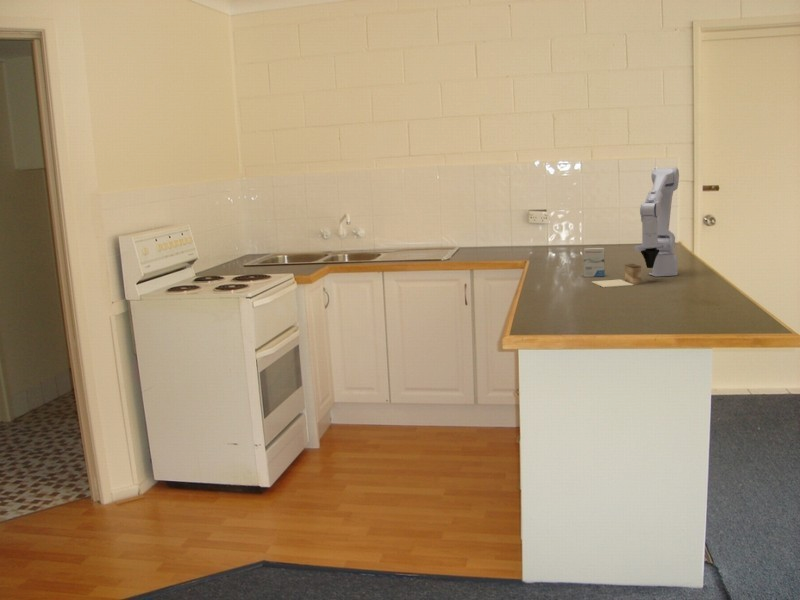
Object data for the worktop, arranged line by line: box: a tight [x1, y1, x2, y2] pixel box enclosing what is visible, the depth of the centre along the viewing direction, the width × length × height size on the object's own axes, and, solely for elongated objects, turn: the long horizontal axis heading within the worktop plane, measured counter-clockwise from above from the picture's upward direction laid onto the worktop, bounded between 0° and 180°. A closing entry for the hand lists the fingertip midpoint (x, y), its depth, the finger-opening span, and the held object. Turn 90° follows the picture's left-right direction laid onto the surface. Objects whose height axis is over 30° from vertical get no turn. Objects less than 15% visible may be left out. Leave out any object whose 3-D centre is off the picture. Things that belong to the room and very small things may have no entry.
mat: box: [590, 278, 634, 289], centre depth 302 cm, size 12×14×1 cm
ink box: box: [583, 247, 606, 278], centre depth 324 cm, size 8×5×12 cm, turn 74°
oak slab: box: [624, 263, 642, 285], centre depth 302 cm, size 4×8×7 cm, turn 4°
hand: (649, 267), depth 303 cm, fingers closed
